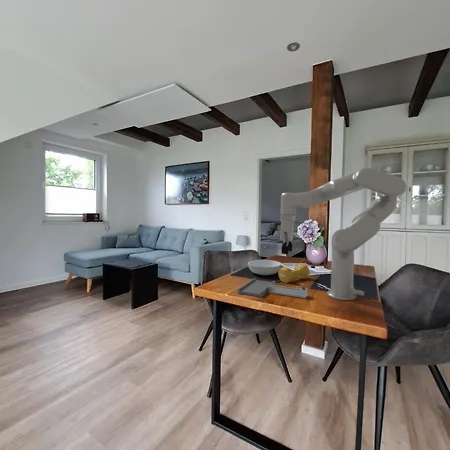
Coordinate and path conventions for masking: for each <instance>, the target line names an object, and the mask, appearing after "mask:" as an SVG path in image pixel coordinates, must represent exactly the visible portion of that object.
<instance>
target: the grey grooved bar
mask: <svg viewBox="0 0 450 450" xmlns="http://www.w3.org/2000/svg"><path fill="white" fill-rule="evenodd" d="M267 293H268V294H269V293H270V294H276V295H281V296H288V297H295V298H302V299H307V297H308V288H307V287H305V286H302V287H299V288H298V287H293V286H292V287H291V286H284V285H276V284H275V285H271V284H270V286H268V292H267Z"/></svg>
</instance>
